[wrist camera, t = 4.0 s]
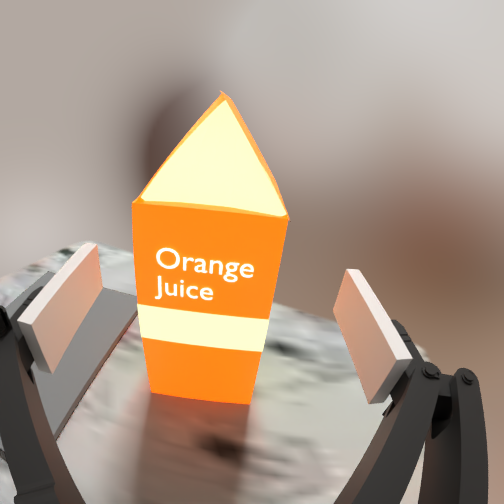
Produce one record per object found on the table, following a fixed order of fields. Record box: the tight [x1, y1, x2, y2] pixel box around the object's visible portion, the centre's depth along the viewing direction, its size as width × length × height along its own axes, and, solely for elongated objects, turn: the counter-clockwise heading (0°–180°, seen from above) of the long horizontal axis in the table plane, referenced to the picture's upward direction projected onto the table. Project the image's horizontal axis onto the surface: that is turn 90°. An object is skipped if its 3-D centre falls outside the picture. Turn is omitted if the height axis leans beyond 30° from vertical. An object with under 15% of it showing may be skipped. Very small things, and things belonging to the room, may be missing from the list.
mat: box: [0, 271, 138, 451], centre depth 20 cm, size 14×21×1 cm, turn 172°
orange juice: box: [132, 92, 289, 404], centre depth 19 cm, size 8×9×20 cm
